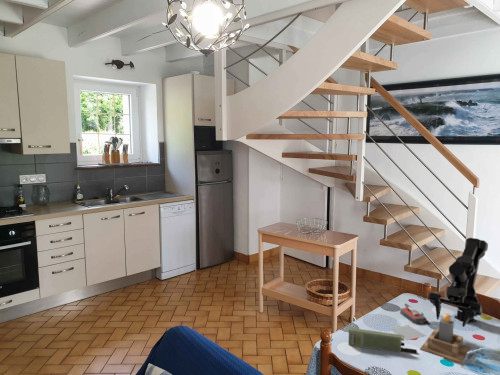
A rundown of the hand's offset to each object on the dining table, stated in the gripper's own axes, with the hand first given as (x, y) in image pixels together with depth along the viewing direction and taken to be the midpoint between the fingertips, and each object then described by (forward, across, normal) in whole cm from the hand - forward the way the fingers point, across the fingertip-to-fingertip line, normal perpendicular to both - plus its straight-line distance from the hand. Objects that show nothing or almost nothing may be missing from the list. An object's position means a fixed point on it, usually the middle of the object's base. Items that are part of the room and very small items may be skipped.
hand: (449, 322), depth 151 cm
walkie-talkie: (-5, -20, +18) cm, 28 cm away
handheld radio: (+21, -19, -9) cm, 30 cm away
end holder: (+10, 0, +2) cm, 11 cm away
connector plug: (+10, 0, +1) cm, 10 cm away
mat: (+8, -15, +5) cm, 18 cm away
